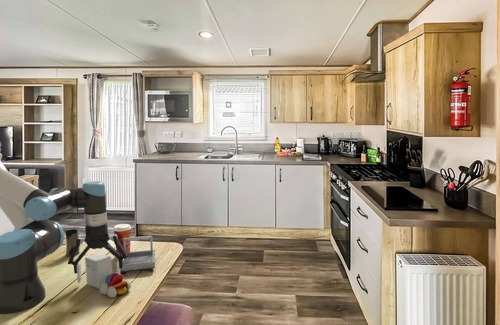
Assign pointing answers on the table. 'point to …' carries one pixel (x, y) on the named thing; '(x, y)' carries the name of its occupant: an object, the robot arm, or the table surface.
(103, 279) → the small box
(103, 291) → the rainbow segmented toy
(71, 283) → the table surface
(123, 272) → the grey storage bin
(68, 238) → the mug
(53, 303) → the table surface
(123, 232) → the paper cup
